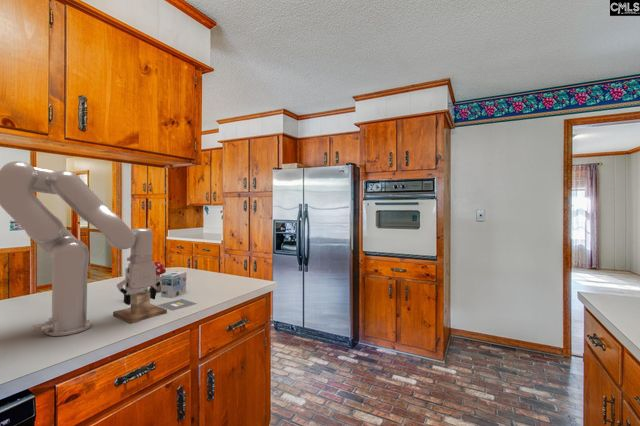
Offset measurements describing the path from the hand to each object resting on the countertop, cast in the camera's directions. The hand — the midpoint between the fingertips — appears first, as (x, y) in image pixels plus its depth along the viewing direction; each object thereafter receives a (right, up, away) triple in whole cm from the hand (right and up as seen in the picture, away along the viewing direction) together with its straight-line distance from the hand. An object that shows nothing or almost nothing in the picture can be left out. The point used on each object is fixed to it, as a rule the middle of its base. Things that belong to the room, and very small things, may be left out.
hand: (140, 301), depth 124 cm
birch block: (0, -4, 0) cm, 4 cm away
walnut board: (0, -5, 0) cm, 5 cm away
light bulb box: (0, -5, +29) cm, 29 cm away
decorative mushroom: (-12, -5, +34) cm, 37 cm away
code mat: (+9, -5, +13) cm, 17 cm away
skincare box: (-14, -5, +20) cm, 24 cm away
